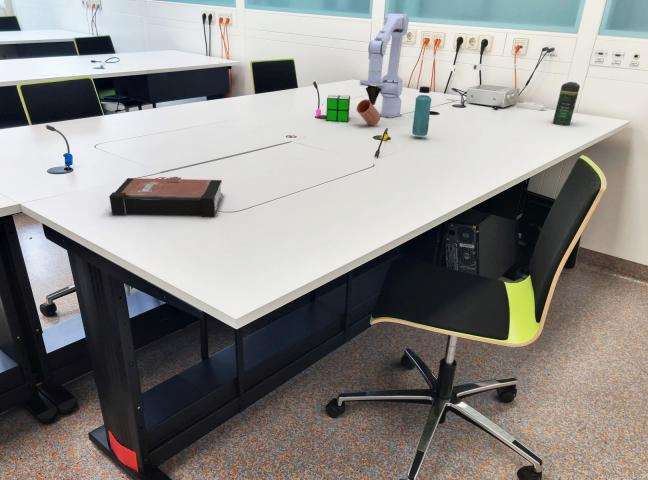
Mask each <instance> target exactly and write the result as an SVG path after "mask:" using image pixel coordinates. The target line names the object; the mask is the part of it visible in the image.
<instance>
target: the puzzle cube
mask: <svg viewBox="0 0 648 480" xmlns="http://www.w3.org/2000/svg"><path fill="white" fill-rule="evenodd" d="M350 106H351V95H347V94H346V95H345V94H329V95H328V96H327V98H326V112H325V113H326V114H325V116H326V117H325V118H326V119H325V120H326V121H327V122H345V123H347V122H348V121H349V118H350Z"/></svg>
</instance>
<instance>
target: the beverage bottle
mask: <svg viewBox="0 0 648 480" xmlns="http://www.w3.org/2000/svg"><path fill="white" fill-rule="evenodd" d="M418 90H419V91H418V92H419V93H420V95H417V96H416V97H415V104H414V112H413V122H412V128H411V133H412V135H413V136H416V137H425V136H427V135H428V132H429V124H430V116H431V115H430V114H431V107H432V106H431V105H432V97H430V96H429V95H426V94H430V92H431V88H430V86H419V89H418Z"/></svg>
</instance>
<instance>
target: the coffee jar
mask: <svg viewBox="0 0 648 480" xmlns="http://www.w3.org/2000/svg"><path fill="white" fill-rule="evenodd" d="M580 87H581V86H580V84H578V82H574V81H568V82H565V83H563V84H562V85H561V88H560V91H559V95H558V99H557V103H556V108H555V112H554V115H553V121H552V123H553V124H556V125H559V126H563V125H564V126H568V125H569V124H571V122H572V120H573V115H574V111H575V107H576V104H577V101H578V97H579V92H580Z"/></svg>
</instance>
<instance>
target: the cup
mask: <svg viewBox="0 0 648 480" xmlns="http://www.w3.org/2000/svg"><path fill="white" fill-rule="evenodd" d="M356 112H357V113H358V115H359V116H360V117H361V118H362V119H363V121H364V122H365V123H366V125H368V126H369V127H370V126H371V127H374V126H376V125H377V124H379V122H380V121H381V117H382V116H380V114H381V113H380V112H379V111H378V110H377V108H376V107H375V105H373V104H372V103H371V102H370V101H369V99H362V100H360V102H359V103H358V104H357V106H356Z"/></svg>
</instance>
